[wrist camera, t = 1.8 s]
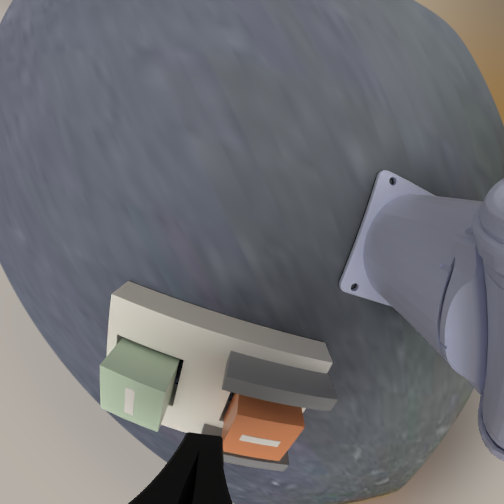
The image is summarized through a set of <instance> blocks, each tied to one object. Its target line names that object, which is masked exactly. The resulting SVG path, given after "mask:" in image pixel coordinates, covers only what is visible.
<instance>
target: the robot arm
mask: <svg viewBox="0 0 504 504" xmlns="http://www.w3.org/2000/svg"><path fill="white" fill-rule="evenodd" d="M390 178H393V180H394V183H393V185H391V184H390V182H389V179H390ZM354 283H356V284H357V285H356V287H355V288H354V289H351V286H352V284H354ZM339 287H340V289H341V290H342V291H343V292H346V293H349V294H352V295H356V296H359V297H362V298H365V299H369V300H372V301H375V302H378V303H382V304H385V305H388V306H392V307H393V308H394V309H395V310H396V311H397V312H398V313H399V314H401V315H402V316H403V317H404V318H405V319H406V320H407V321H408V322H409V323H410V324H411V325H412V326H413V327H414V328H415V329H416V330H417V331H418V332H419V333H420V334H421V335H422V336H423V338H424V339H425V340H426V341H427V342H428V343H429V344H430V345H431V346H432V347H433V348H434V349H435V350H436V351H437V352H438V353H439V354H440V355H441V356H442V357H443V358H444V359H445V360H446V361H447V362H448V364H449V365H450V366H451V367H452V368H453V369H454V370H455V371H456V372H457V373H459V374H460V375H462V376H463V377H465V378H466V379H468V382H469V383H470V384H471V385H472V386H473V387H474V388H475V389H476V390H477V392H478V393H479V394H482V395H481V398H480V404H479V409H478V426H479V431H480V434H481V438H482V440H483V442H484V444H485V446H486V447H487V448H488V449H489V451H490V452H491V453H492V454H493V455H495V456H496V457H497V458H499V459H501V460H503V461H504V178H503V179H502V180H500V181H499V182H497V183H496V184H495V185H494V186H493V187H492V188H491V189H490V190H489V192H488V193H487V195H486V197H485V199H484V200H483V201H482V202H481V201H474V200H466V199H458V198H449V197H439V196H435V195H433V194H431V193H429V192H428V191H426V190H424V189H422V188H421V187H419V186H417V185H415V184H413V183H411V182H409V181H408V180H406V179H404V178H402V177H400V176H398V175H396V174H394V173H392V172H390V171H388V170H382V171H380V172H379V173H378V175H377V177H376V181H375V184H374V187H373V190H372V194H371V197H370V200H369V203H368V206H367V209H366V212H365V215H364V218H363V221H362V223H361V226H360V229H359V232H358V235H357V237H356V240H355V243H354V245H353V248H352V251H351V253H350V256H349V259H348V261H347V264H346V266H345V269H344V271H343V274H342V276H341V279H340V281H339ZM223 464H224V457H223V438H222V437H221V436H216V435H207V434H199V433H191V432H188V433H186V435H185V437H184V439H183V441H182V442H181V444H180V446H179V447H178V449H177V450H176V452H175V453H174V455H173V456H172V457H171V459H170V460H169V461H168V463H167V464H166V465H165V467H164V468H163V469H162V471H161V472H160V473H159V474H158V475H157V476H156V477H155V479H154V480H153V481H152V482H151V483H150V484H149V485H148V486H147V487H146V488H145V489H144V490H143V491H142V492H141V493H140V494H139V495H138V496H137V497H135V498H134V499H133V500H132V501H131V502H129V503H128V504H232V501H231V498H230V495H229V491H228V488H227V484H226V479H225V474H224V469H223Z"/></svg>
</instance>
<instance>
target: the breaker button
mask: <svg viewBox="0 0 504 504" xmlns="http://www.w3.org/2000/svg"><path fill="white" fill-rule="evenodd" d="M304 427H305V425H304V419H303V413H302V407H296V406H291V405H285V404H280V403H275V402H270V401H266V400H261V399H257V398H253V397H248V396H244V395H240V394H236V393H234V395H233V398H232V400H231V402H230V405H229V407H228V409H227V412H226V414H225V416H224V423H223V429H222V436H221V437H222V438H223V451H224V452H229V453H234V454H238V455H244V456H249V457H255V458H261V459H267V460H274V461H280V459H281V458H282V457H283V456H284V454H285V453H286V452H287V450H288V449H289V448H290V446H291V445H292V444H293V442H294V441H295V440H296V438H297V437H298V436H299V434H300V433H301V432H302V430H303V429H304Z"/></svg>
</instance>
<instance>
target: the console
mask: <svg viewBox="0 0 504 504" xmlns="http://www.w3.org/2000/svg"><path fill="white" fill-rule="evenodd" d="M122 338H125V339H127V340H132V341H134V342H136V343H139V344H141V345H144V346H146V347H149V348H151V349H154V350H157V351H159V352H162V353H165V354H167V355H170V356H173V357H176V358H179V359H181V360H184V362H183V366H182V370H181V374H180V378H179V383H178V385H177V384H175V383H174V386H173V391H172V395H171V400H170V402H169V405H168V407H167V410H166V412H165V415H164V418H163V420H162V423H161V425H164V426H167V427H170V428H173V429H176V430H179V431H182V432H185V433H188V432H191V433H199V434H207V435H216V436H222V429H223V423H224V416H225V414H226V412H227V409H228V407H229V405H230V402H231V401H230V400H228V397H229V395H230V393H231V392H233V393H236V394H240V395H244V396H248V397H253V398H257V399H261V400H266V401H270V402H275V403H280V404H285V405H291V406H296V407H302V413H303V412H304V411H305V409H306V408H308V409H315V410H322V411H329V412H330V411H331V410H332V408H333V407H334V405H335V404H336V402H337V401H338V398H337V395H336V392H335V389H334V386H333V383H332V380H331V377H330V374H327V373H328V371H329V369H330V367H331V365H332V364H333V362H332V359H331V357H330V354H329V352H328V349H327V347H326V344H325V343H324V342H320V341H316V340H312V339H308V338H304V337H300V336H297V335H293V334H289V333H285V332H282V331H278V330H274V329H271V328H267V327H264V326H260V325H257V324H253V323H250V322H247V321H243V320H240V319H237V318H233V317H230V316H227V315H224V314H221V313H217V312H214V311H211V310H208V309H205V308H202V307H199V306H196V305H193V304H190V303H187V302H184V301H182V300H179V299H176V298H173V297H170V296H167V295H165V294H162V293H159V292H156V291H154V290H151V289H148V288H146V287H143V286H140V285H138V284H135V283H133V282H130V281H128V282H127V283H125V284H124V285H123V286H121V287H120V288H119V289H117V290H116V291H115V292H114V293H112V295H111V303H110V313H109V325H108V339H107V356H108V355H109V353H110V352H111V351H112V350H113V349H114V347H115V346H116V345H117V344H118V343H119V341H120V340H121V339H122ZM223 457H224V462H228V463H232V464H238V465H243V466H248V467H255V468H261V469H268V470H276V471H284V470H285V469H286V468H287V467H288V466H289V460H288V450H287V452H286V453H285V454H284V456H283V457H282V458H281V459H280V461H274V460H267V459H261V458H255V457H249V456H244V455H238V454H234V453H229V452H224V451H223Z"/></svg>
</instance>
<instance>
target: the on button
mask: <svg viewBox="0 0 504 504" xmlns="http://www.w3.org/2000/svg"><path fill="white" fill-rule="evenodd" d="M178 365H179V359H176V358H173V357H171V356H168V355H165V354H162V353H160V352H157V351H155V350H152V349H149V348H147V347H144V346H142V345H139V344H137V343H134V342H132V341H130V340H127V339H125V338H122V339H121V340H120V341H119V343H118V344H117V345H116V346H115V347H114V349H113V350H112V351H111V352H110V353H109V355H108V356H107V357H106V358H105V359H104V361H103V362H102V363H101V364H100V399H101V408H102V409H104V410H106V411H109V412H111V413H113V414H115V415H117V416H119V417H122V418H124V419H126V420H129V421H131V422H133V423H136V424H138V425H141V426H143V427H146V428H148V429H151V430H154V431H156V432H158V430H159V428H160V425H161V423H162V420H163V418H164V415H165V412H166V410H167V407H168V405H169V402H170V400H171V395H172V391H173V386H174V382H175V377H176V373H177V369H178Z"/></svg>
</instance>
